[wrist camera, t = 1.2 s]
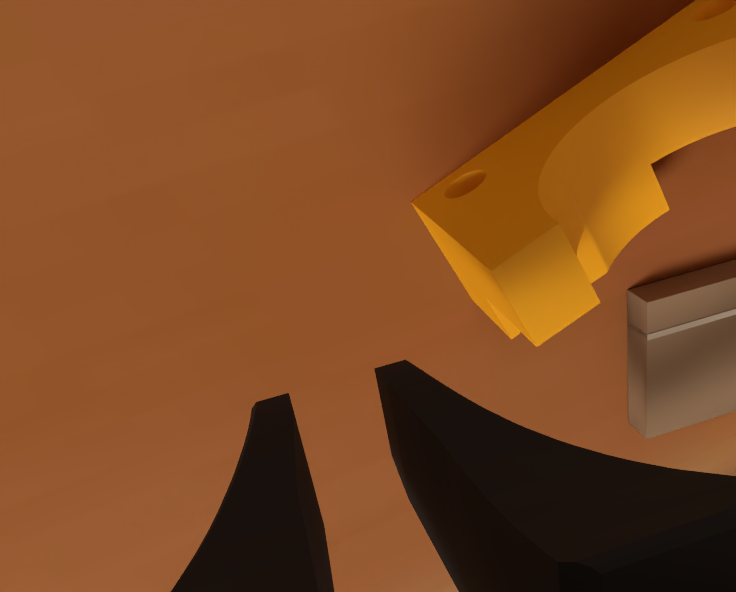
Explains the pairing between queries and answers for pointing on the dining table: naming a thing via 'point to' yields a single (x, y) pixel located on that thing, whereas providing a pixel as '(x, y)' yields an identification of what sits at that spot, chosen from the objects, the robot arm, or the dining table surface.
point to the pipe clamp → (583, 174)
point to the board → (682, 350)
